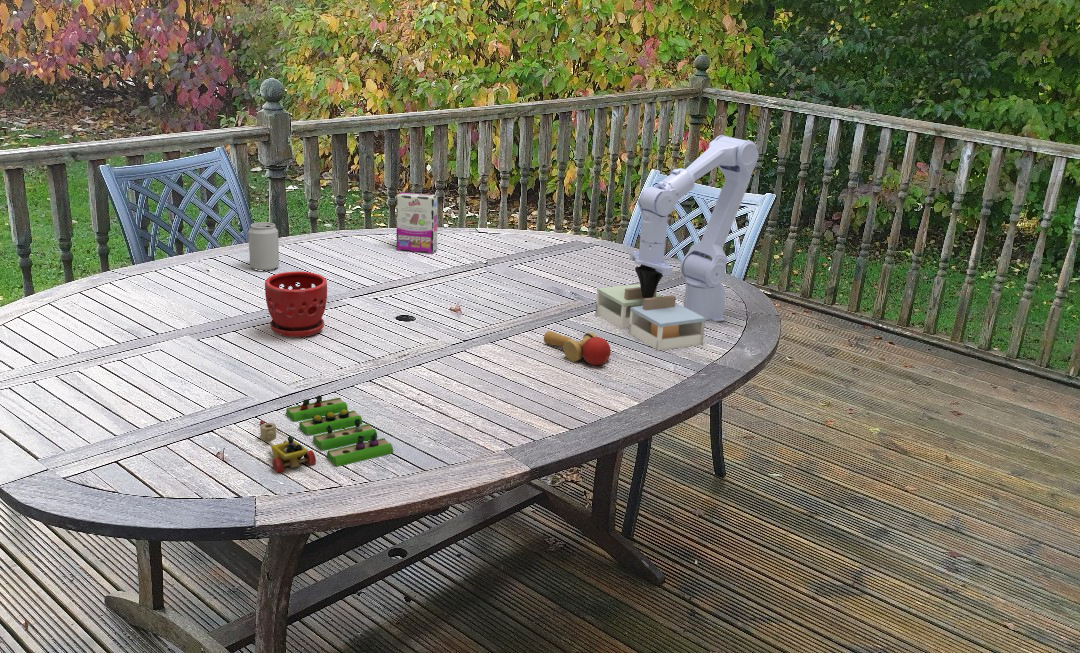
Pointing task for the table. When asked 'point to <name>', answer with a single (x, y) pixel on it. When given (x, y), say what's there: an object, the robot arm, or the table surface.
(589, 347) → the kendama
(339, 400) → the toy garden set
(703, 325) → the crate
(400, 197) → the candy bar box
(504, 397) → the table surface
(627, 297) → the lid
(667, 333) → the block
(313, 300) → the plant pot
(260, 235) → the can
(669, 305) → the lid
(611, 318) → the crate
